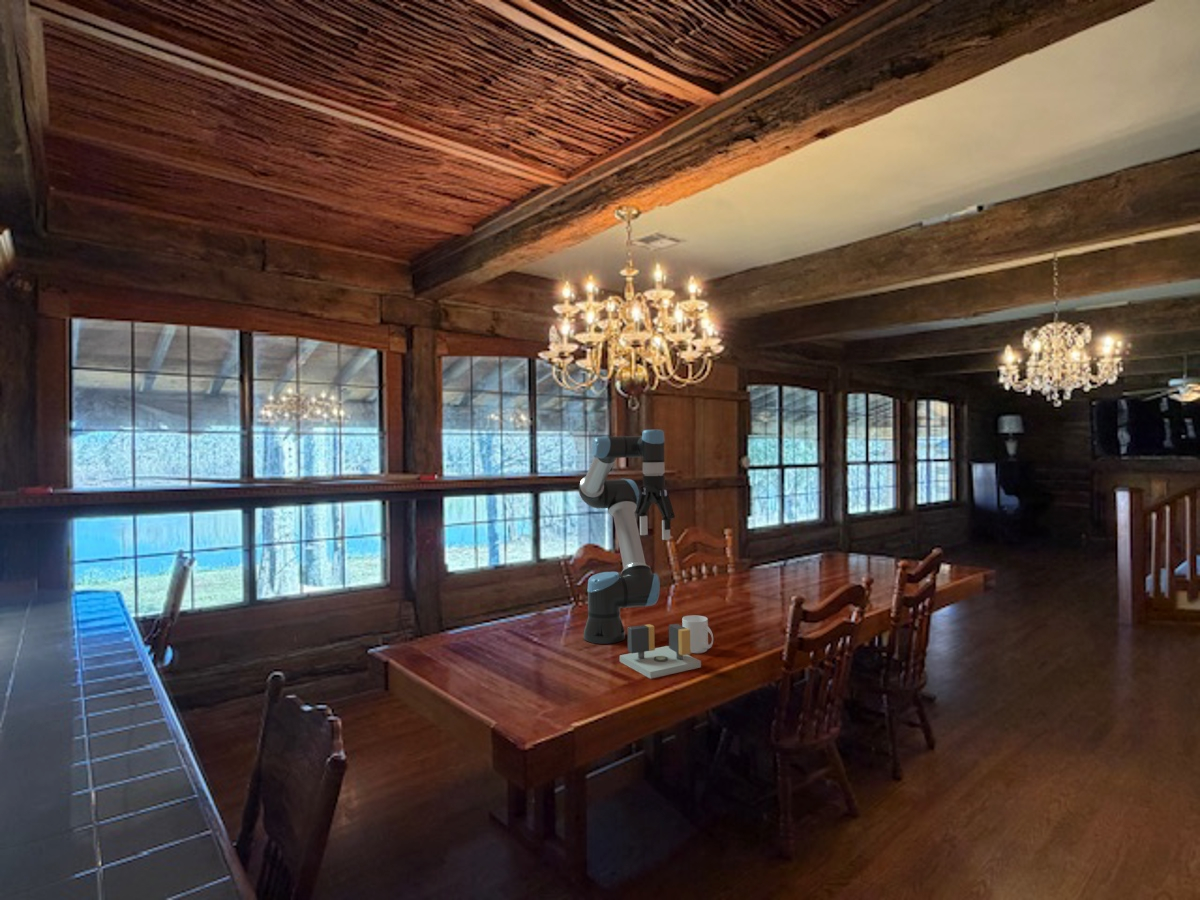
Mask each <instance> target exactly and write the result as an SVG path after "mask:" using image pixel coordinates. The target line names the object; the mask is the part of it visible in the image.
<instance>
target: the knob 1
mask: <svg viewBox="0 0 1200 900" xmlns="http://www.w3.org/2000/svg"><path fill="white" fill-rule="evenodd" d="M626 629H627V630H626V631H627V651H628V652H629V653H638V658H640V659H643V658H644V652H645V651H653V650H655V648H656V646H655V626H654V625H653V624H651V623H649V624H641V625H636V626H635V625H634V626H627V628H626Z"/></svg>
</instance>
